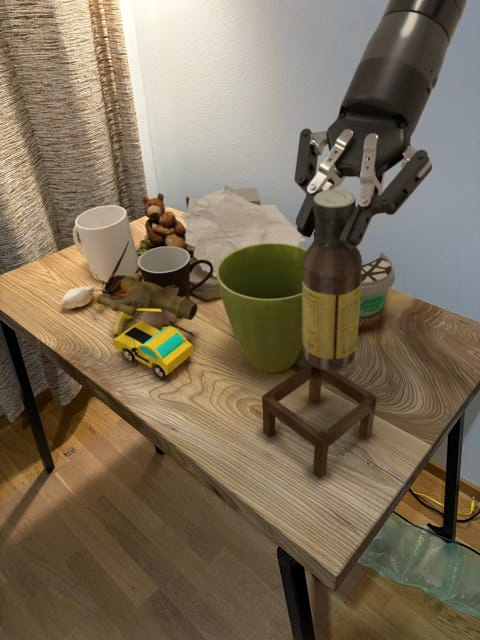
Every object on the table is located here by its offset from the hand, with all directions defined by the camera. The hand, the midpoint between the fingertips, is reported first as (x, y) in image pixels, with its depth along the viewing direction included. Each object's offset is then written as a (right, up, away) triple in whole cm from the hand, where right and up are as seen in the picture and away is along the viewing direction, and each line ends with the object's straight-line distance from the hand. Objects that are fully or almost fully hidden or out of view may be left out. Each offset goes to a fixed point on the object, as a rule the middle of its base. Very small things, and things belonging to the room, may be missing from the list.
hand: (323, 239), depth 52 cm
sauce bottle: (+2, -12, +11) cm, 16 cm away
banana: (-29, -8, +39) cm, 50 cm away
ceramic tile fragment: (-18, -3, +44) cm, 47 cm away
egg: (-20, -5, +39) cm, 44 cm away
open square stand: (+2, -23, +18) cm, 29 cm away
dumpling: (-37, -5, +45) cm, 58 cm away
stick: (-17, -8, +34) cm, 39 cm away
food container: (+13, -8, +37) cm, 40 cm away
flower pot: (-3, -14, +31) cm, 34 cm away
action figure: (-20, -3, +37) cm, 42 cm away
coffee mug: (-19, -6, +42) cm, 47 cm away
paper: (-9, +19, +50) cm, 54 cm away
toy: (-7, +8, +53) cm, 54 cm away
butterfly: (-34, -2, +44) cm, 56 cm away
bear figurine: (-22, +5, +57) cm, 62 cm away
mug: (-34, +2, +54) cm, 63 cm away
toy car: (-22, -14, +32) cm, 41 cm away
